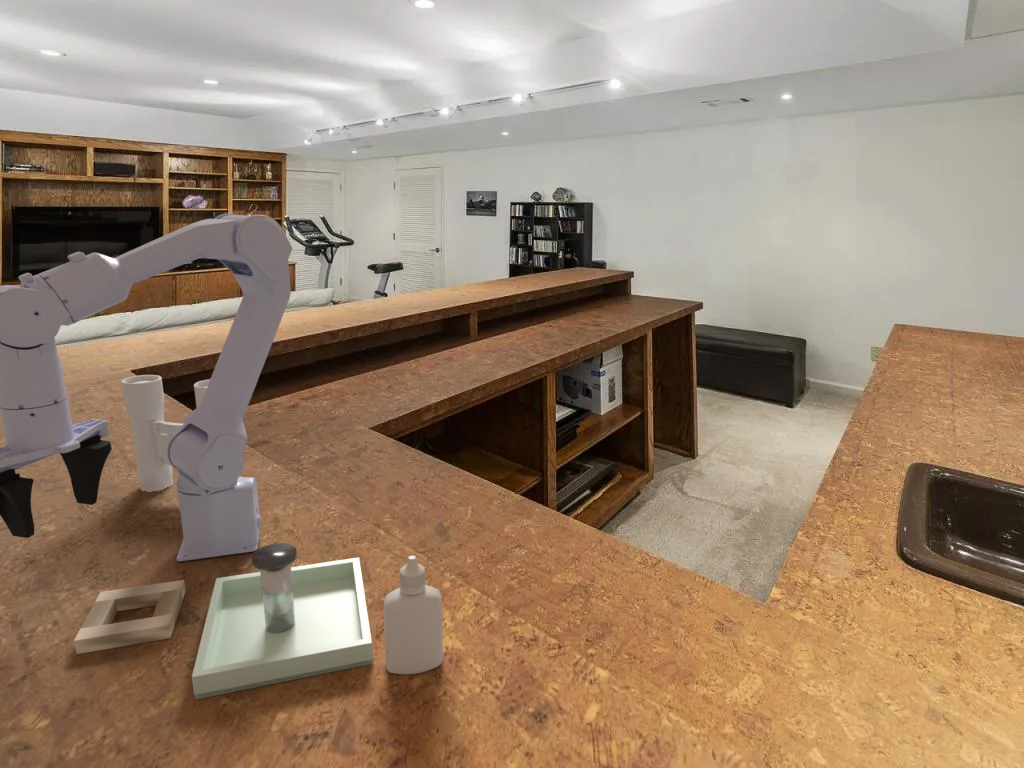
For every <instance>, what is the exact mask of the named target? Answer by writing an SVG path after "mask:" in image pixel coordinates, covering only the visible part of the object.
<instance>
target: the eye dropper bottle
mask: <svg viewBox="0 0 1024 768" xmlns="http://www.w3.org/2000/svg"><path fill="white" fill-rule="evenodd" d="M417 560H418V559H417V557H416V555H408V557H407V563H406V564H405V565H403V566H402V567H401V568H400V569H399V587H397V588H395V589H394V590H393V591H390V592H388V594H386V596H385V598H384V600H383V618H384V619H383V621H384V622H383V623H384V624H383V625H384V626H383V627H384V650H385V652H384V653H385V668H386V670H387V671H388V672H389V673H390V674H395V675H397V674H398V675H416V674H421V673H425V672H428V671H430V670H433V669H435V668H437V667H439V666H440V665H441V664H442V662H443V659H444V657H443V656H444V655H443V654H444V653H443V652H444V650H443V648H444V647H443V642H444V641H443V635H444V634H443V600H442V596H441V592H440V590H439V589H438V588H436V587H433V586H431V585H427V584H426V569H425V566H423V565H422V564H420V563H418V561H417Z"/></svg>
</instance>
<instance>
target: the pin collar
mask: <svg viewBox="0 0 1024 768" xmlns="http://www.w3.org/2000/svg"><path fill="white" fill-rule="evenodd" d="M185 584H186V583H185V579H181V580H179V579H178V580H174V581H167V582H166V581H165V582H159V583H151V584H145V585H139V586H133V587H131V586H130V587H125V588H118V589H111V590H104V591H100V592H99V594H98V596H97V597H96V600H95V601H94V603H93V605H92V607H91V609H90V610H89V613H88V614H87V616H86V617H85V619H84V622H83V623H82V625H81V627H80V629H79V631H78V633H76V636H75V638H74V639H73V643H74V648H75V652H76V655H80V654H85V653H91V652H98V651H103V650H108V649H110V650H111V649H115V648H121V647H126V646H134V645H138V644H139V645H140V644H144V643H151V642H156V641H162V640H168V639H171V638H172V635H173V633H174V630H175V626H176V622H177V620H178V617H179V614H180V611H181V607H182V604H183V601H184V597H185V595H186V585H185ZM153 606H154V607H155V609H154V612H153V615H152V617H146V618H140V619H138V618H137V619H133V620H126V621H121V622H113V621H114V619H115V616H116V615H117V613H118V612H123V611H127V610H128V611H129V610H134V609H135V610H136V609H142V608H146V607H147V608H148V607H153Z"/></svg>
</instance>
